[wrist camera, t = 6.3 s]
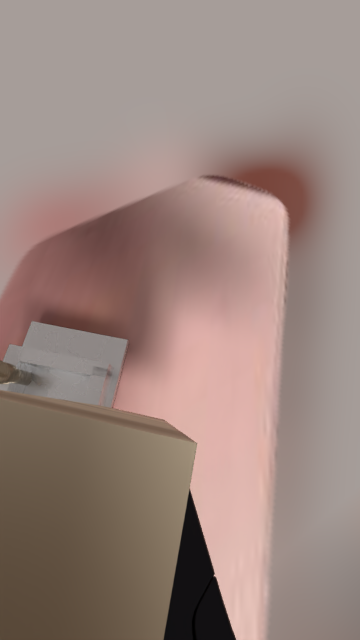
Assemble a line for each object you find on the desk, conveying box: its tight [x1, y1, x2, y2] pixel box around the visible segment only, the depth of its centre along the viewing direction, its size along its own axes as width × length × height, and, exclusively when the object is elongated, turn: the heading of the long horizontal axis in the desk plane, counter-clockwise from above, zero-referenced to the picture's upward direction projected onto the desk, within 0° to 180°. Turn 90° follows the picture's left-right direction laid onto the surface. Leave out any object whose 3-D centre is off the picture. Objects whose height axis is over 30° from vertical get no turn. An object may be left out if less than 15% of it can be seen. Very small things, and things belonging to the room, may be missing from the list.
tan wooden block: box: [0, 390, 197, 640], centre depth 8 cm, size 4×4×13 cm
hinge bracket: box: [0, 321, 129, 408], centre depth 18 cm, size 14×8×5 cm, turn 170°
